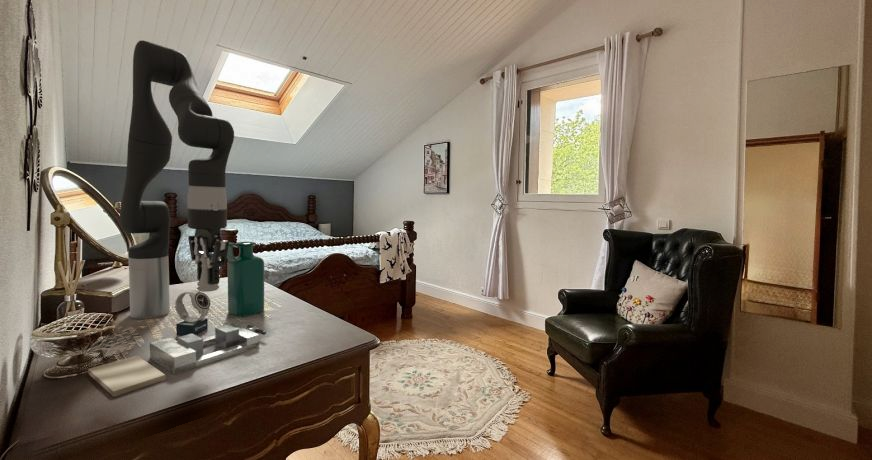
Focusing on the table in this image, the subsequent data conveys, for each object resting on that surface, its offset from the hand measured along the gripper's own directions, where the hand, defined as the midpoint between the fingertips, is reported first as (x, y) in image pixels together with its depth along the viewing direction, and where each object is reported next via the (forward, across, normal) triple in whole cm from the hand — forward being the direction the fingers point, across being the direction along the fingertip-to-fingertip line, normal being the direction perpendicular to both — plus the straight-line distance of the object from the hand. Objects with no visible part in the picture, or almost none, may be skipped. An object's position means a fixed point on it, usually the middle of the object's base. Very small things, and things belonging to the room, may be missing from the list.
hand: (208, 281), depth 85 cm
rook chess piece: (+2, 0, 0) cm, 2 cm away
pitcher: (+17, -21, +20) cm, 33 cm away
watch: (+17, -15, +3) cm, 23 cm away
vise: (+16, 0, +1) cm, 17 cm away
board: (+16, 0, -16) cm, 23 cm away
